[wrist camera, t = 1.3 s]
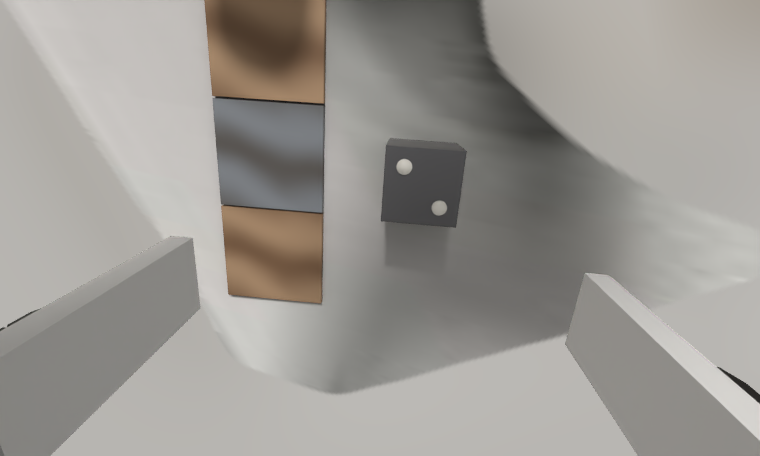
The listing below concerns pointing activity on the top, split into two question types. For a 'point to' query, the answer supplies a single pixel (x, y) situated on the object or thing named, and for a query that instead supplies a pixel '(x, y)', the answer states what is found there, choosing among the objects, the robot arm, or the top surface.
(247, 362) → the top surface
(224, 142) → the board
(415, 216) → the die
